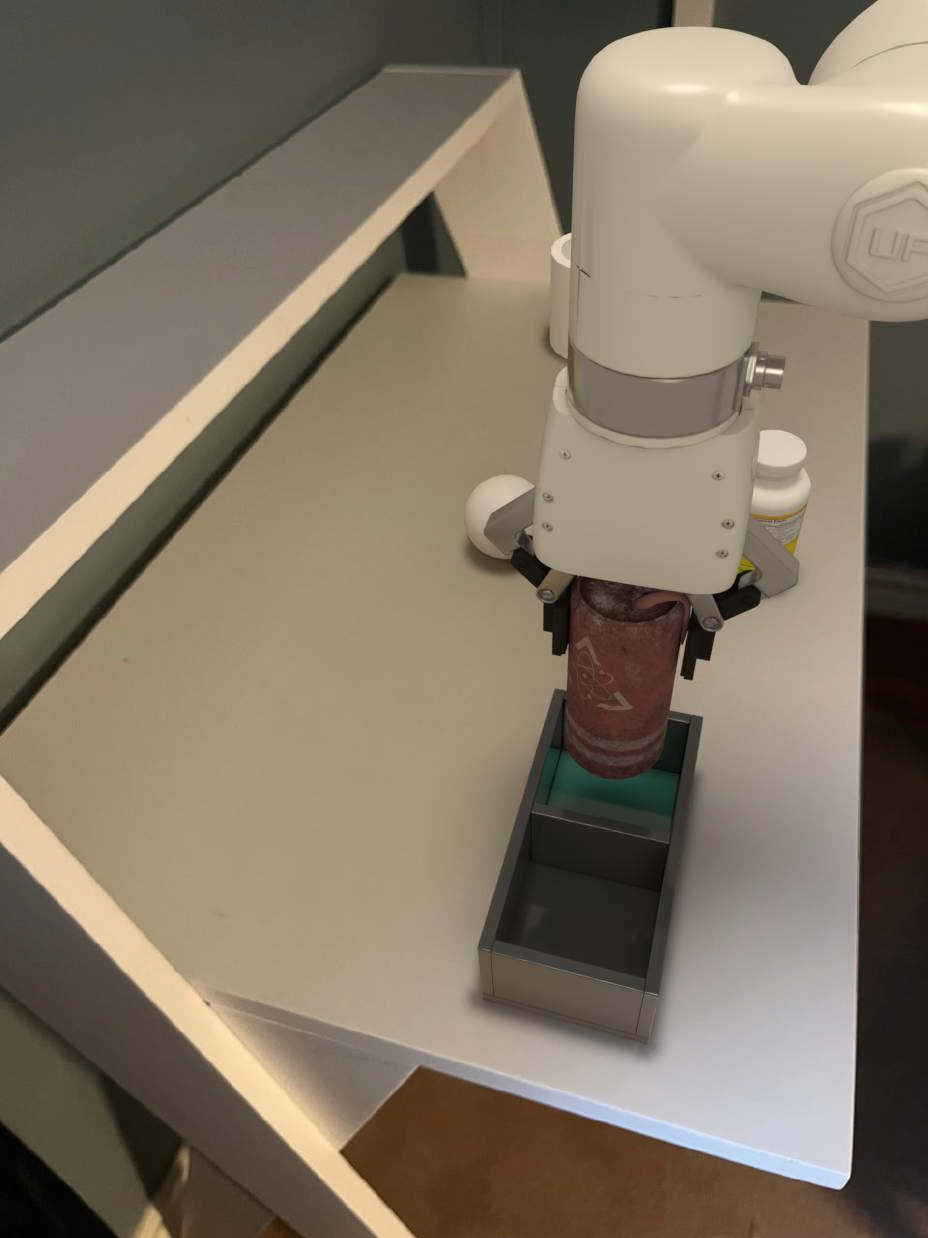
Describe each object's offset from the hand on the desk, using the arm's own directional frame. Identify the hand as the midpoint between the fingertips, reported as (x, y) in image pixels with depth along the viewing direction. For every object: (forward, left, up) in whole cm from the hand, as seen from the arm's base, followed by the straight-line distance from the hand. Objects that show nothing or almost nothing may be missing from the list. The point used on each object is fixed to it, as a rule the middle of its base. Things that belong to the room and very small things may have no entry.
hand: (625, 647), depth 54 cm
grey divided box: (0, +5, -18) cm, 18 cm away
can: (0, 0, -9) cm, 9 cm away
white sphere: (+14, -26, -18) cm, 35 cm away
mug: (+13, -61, -18) cm, 64 cm away
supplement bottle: (-7, -27, -18) cm, 34 cm away
